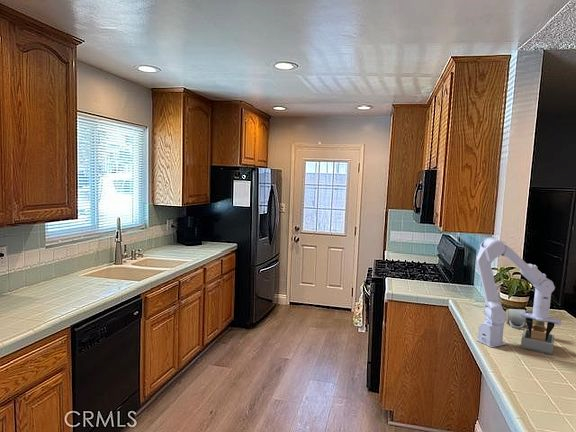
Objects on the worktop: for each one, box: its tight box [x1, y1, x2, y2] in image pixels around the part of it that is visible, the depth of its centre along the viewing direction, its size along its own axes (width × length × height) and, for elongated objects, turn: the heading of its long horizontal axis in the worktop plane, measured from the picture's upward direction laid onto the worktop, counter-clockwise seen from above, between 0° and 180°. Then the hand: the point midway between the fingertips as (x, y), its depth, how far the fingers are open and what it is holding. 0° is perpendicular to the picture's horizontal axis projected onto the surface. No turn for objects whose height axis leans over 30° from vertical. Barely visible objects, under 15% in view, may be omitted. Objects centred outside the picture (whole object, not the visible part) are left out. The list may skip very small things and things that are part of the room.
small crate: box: [531, 324, 547, 342], centre depth 171 cm, size 9×5×6 cm, turn 146°
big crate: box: [520, 328, 555, 356], centre depth 172 cm, size 13×11×4 cm
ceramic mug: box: [505, 308, 527, 330], centre depth 196 cm, size 11×8×8 cm
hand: (538, 338), depth 172 cm, fingers closed on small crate, 5 cm apart
